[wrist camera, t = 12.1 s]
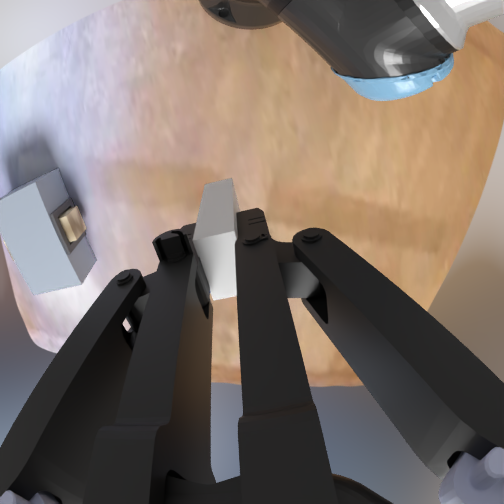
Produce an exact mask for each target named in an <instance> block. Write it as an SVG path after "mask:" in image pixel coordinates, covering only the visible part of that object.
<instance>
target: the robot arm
mask: <svg viewBox="0 0 504 504" xmlns="http://www.w3.org/2000/svg"><path fill="white" fill-rule="evenodd" d="M199 2H200V4H201V6H202V7H203V9H204V10H205V11H206V12H207V13H208V14H209V15H210V16H211V17H213V18H214V19H215V20H217V21H219V22H221V23H223V24H225V25H228V26H231V27H235V28H240V29H262V28H267V27H271V26H274V25H276V24H278V23H280V22H282V21H283V22H284V23H285V24H286V25H287V26H289V27H290V28H291V29H292V30H293V31H294V32H295V33H297V34H298V35H299V36H300V37H301V38H302V39H303V40H304V41H305V42H306V43H307V44H308V45H310V46H311V47H312V48H313V49H314V50H315V51H316V52H317V53H318V54H319V55H320V56H321V57H322V58H323V59H324V60H325V61H326V62H327V63H328V64H329V65H330V66H331V70H332V71H333V72H334V73H335V74H336V75H337V76H339V77H341V78H342V79H344V80H345V81H346V82H347V83H348V84H349V85H350V86H351V87H352V89H353V90H354V91H355V92H357V93H358V94H359V95H361V96H364V97H365V98H368V99H371V100H376V101H390V100H396V99H401V98H405V97H409V96H412V95H415V94H417V93H420V92H422V91H424V90H426V89H428V88H430V87H432V86H433V82H436V81H441V80H442V79H444V78H445V77H446V76H447V75H448V74H449V73H450V71H451V69H452V68H453V64H454V58H453V52H456V51H458V50H460V49H462V48H463V47H464V42H465V38H466V33H467V31H468V29H469V27H471V26H474V25H476V24H479V23H482V22H484V21H487V20H490V19H492V18H495V17H498V16H501V15H504V0H199ZM292 241H293V242H278V241H275V240H273V239H272V238H271V236H270V234H269V230H268V226H267V223H266V219H265V215H264V212H263V211H262V210H260V209H259V208H255V209H250V210H246V211H241V212H240V208H239V204H238V200H237V196H236V192H235V188H234V184H233V180H232V178H230V179H225V180H221V181H217V182H213V183H209V184H205V187H204V191H203V195H202V200H201V204H200V208H199V213H198V218H197V222H196V223H193V224H189V225H185V226H183V227H182V228H181V229H175V230H170V231H167V232H165V233H163V234H161V235H159V236H158V237H156V238H155V239H154V240H153V242H152V243H153V245H154V248H155V250H156V253H157V255H158V258H159V260H160V262H159V265H158V268H157V271H156V272H154V273H152V274H149V275H147V276H144V277H143V276H142V274H141V272H140V271H139V270H138V269H130V270H124V271H122V272H120V273H119V274H118V275H116V276H115V277H114V278H113V279H112V280H111V281H110V282H109V284H108V285H107V286H106V288H105V289H104V290H103V291H102V293H101V294H100V295H99V297H98V298H97V299H96V301H95V302H94V303H93V304H92V306H91V307H90V308H89V310H88V311H87V313H86V314H85V315H84V317H83V318H82V319H81V321H80V322H79V323H78V325H77V326H76V328H75V329H74V330H73V332H72V333H71V335H70V336H69V337H68V339H67V340H66V342H65V343H64V345H63V346H62V347H61V349H60V350H59V352H58V353H57V355H56V356H55V358H54V359H53V361H52V362H51V364H50V365H49V367H48V368H47V370H46V371H45V373H44V374H43V376H42V377H41V379H40V380H39V382H38V384H37V385H36V387H35V388H34V390H33V392H32V393H31V395H30V396H29V398H28V400H27V402H26V403H25V405H24V406H23V408H22V410H21V412H20V413H19V415H18V417H17V418H16V420H15V422H14V423H13V425H12V427H11V429H10V431H9V433H8V434H7V436H6V438H5V440H4V442H3V444H2V445H1V447H0V504H393V503H391V502H390V501H388V500H386V499H385V498H383V497H381V496H380V495H378V494H377V493H375V492H374V491H372V490H370V489H369V488H367V487H366V486H364V485H362V484H361V483H359V482H356V481H354V480H352V479H349V478H347V477H344V476H341V475H336V474H332V473H331V468H330V464H329V459H328V455H327V451H326V446H325V442H324V438H323V433H322V429H321V425H320V421H319V417H318V413H317V409H316V406H315V404H314V402H313V399H312V395H311V391H310V387H309V383H308V379H307V374H306V370H305V366H304V362H303V358H302V354H301V350H300V346H299V342H298V338H297V334H296V330H295V326H294V322H293V318H292V314H291V310H290V306H289V302H288V299H287V298H301V299H302V302H303V304H304V306H305V307H306V308H307V310H308V311H309V312H310V314H311V315H312V316H313V317H314V319H315V320H316V321H317V323H318V324H319V325H320V327H321V328H322V329H323V331H324V332H325V333H326V335H327V336H328V337H329V339H330V340H331V341H332V343H333V344H334V345H335V347H336V348H337V349H338V351H339V352H340V353H341V355H342V356H343V357H344V359H345V360H346V361H347V363H348V364H349V365H350V367H351V368H352V369H353V371H354V372H355V373H356V375H357V376H358V377H359V379H360V380H361V381H362V383H363V384H364V385H365V387H366V388H367V389H368V391H369V392H370V393H371V395H372V396H373V397H374V398H375V400H376V401H377V403H378V404H379V405H380V407H381V408H382V409H383V411H384V412H385V413H386V415H387V416H388V417H389V419H390V420H391V421H392V423H393V424H394V425H395V427H396V428H397V429H398V431H399V432H400V434H401V435H402V436H403V438H404V439H405V440H406V442H407V443H408V444H409V446H410V447H411V448H412V450H413V451H414V453H415V454H416V455H417V456H418V457H419V459H420V460H421V461H422V462H423V463H424V464H425V466H426V467H427V468H428V469H430V470H431V471H432V472H433V473H434V474H435V475H436V476H437V477H438V478H440V479H441V480H443V481H442V482H441V485H440V489H439V501H440V503H441V504H504V383H503V382H502V381H501V380H500V379H499V378H498V377H497V376H496V375H495V374H494V373H493V372H492V371H491V370H490V369H489V368H488V367H487V366H486V365H485V364H484V363H483V362H482V361H480V360H479V359H478V358H477V357H476V356H475V355H474V354H473V353H472V352H471V351H470V350H469V349H468V348H467V347H466V346H464V345H463V344H462V343H461V342H460V341H459V340H458V339H457V338H456V337H455V336H454V335H452V333H450V332H449V331H448V330H447V329H446V328H445V327H444V326H443V325H441V324H440V323H439V322H438V321H437V320H436V319H435V318H434V317H433V316H431V315H430V314H429V313H428V312H427V311H426V310H425V309H423V308H422V307H421V306H420V305H419V304H418V303H416V302H415V301H414V300H413V299H412V298H411V297H409V296H408V295H407V294H406V293H405V292H403V291H402V290H401V289H400V288H399V287H398V286H396V285H395V284H394V283H393V282H392V281H390V280H389V279H388V278H387V277H385V276H384V275H383V274H382V273H381V272H379V271H378V270H377V269H376V268H374V267H373V266H372V265H371V264H370V263H368V262H367V261H366V260H365V259H363V258H362V257H361V256H360V255H358V254H357V253H356V252H354V251H353V250H352V249H351V248H349V247H348V246H347V245H346V244H344V243H343V242H342V241H340V240H339V239H338V238H337V237H335V236H334V235H333V234H331V233H330V232H329V231H327V230H325V229H320V228H308V229H305V230H302V231H300V232H298V233H296V234H295V235H294V236H293V239H292ZM210 292H211V295H212V298H213V300H219V299H224V298H229V297H234V296H237V310H238V330H239V348H240V366H241V384H242V400H243V416H242V417H240V418H239V422H238V442H239V461H240V476H238V477H234V478H231V479H228V480H225V481H222V482H219V483H216V480H215V477H214V475H213V472H212V469H211V456H210V455H211V449H210V448H211V447H210V446H211V436H210V433H211V432H210V431H211V430H210V427H211V425H210V424H211V422H210V421H211V420H210V419H211V418H210V417H211V358H212V325H213V306H212V303H211V301H210V298H209V296H210ZM125 318H126V319H127V321H128V322H129V324H130V326H131V328H130V329H129V331H126V329H125V328H124V326H123V321H124V320H125Z"/></svg>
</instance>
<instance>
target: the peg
mask: <svg viewBox="0 0 504 504" xmlns="http://www.w3.org/2000/svg"><path fill="white" fill-rule="evenodd" d="M58 219H59V221H60V223H61V226H62V228H63V230H64V232H65V235H66V237H67V239H68V241H69V242H72V241H76V240H77V239H78V238H79V237H80V236H81V234H82V233H83V232H84V231H85V230H86V229H87V228H86V226H85V223H84V221H83V218H82V216H81V214H80V211H79V209H78V206H75V207H72V208H69V209H67V210H65V211H64V212H63V213H61V214H60V215H59V216H58ZM4 243H5V241H4ZM5 245H6V243H5ZM6 247H7V245H6ZM7 249H8V248H7ZM8 251H9V250H8ZM9 253H10V252H9ZM10 255H11V254H10ZM11 257H12V256H11ZM12 259H13V257H12ZM13 261H14V259H13Z"/></svg>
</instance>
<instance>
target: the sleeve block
mask: <svg viewBox="0 0 504 504" xmlns="http://www.w3.org/2000/svg"><path fill="white" fill-rule="evenodd" d="M72 207H75V206H74V204H73V201H72V199H71V198H69V196H68V193H67V190H66V188H65V185H64V182H63V180H62V177H61V174H60V171H59V168H57V169H55V170H53V171H51V172H49V173H46V174H44V175H42V176H40V177H38V178H36V179H34V180H32V181H30V182H28V183H26V184H24V185H22V186H20V187H18V188H16V189H14V190H12V191H11V192H9V193H8V194H6V195H5V196H3V197H2V198H0V233H1V235H2V237H3V239H4V241H5V243H6V245H7V248H8V250H9V252H10V254H11V256H12V257H13V259H14V261H15V263H16V265H17V267H18V269H19V271H20V273H21V274H22V276H23V278H24V280H25V282H26V283H27V285H28V287H29V288H30V290H31V292H32V294H33V295H38V294H42V293H47V292H51V291H55V290H60V289H64V288H69V287H73V286H77V285H82V283H83V282H84V280H85V278H86V277H87V275H88V273H89V272H90V270H91V269H92V267H93V265H94V264H95V262H96V261H97V260H96V258H95V256H94V254H93V252H92V250H91V247H90V245H89V243H88V241H87V239H86V236H85V235H86V233H85V231H84V232H83V233H82V234H81V236H80V237H79V238H78V239H77V240H76V241H72V242H69V241H68V239H67V237H66V235H65V232H64V230H63V228H62V226H61V223H60V221H59V219H58V216H59V215H60V214H61V213H63V212H64V211H65V210H67V209H69V208H72Z"/></svg>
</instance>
